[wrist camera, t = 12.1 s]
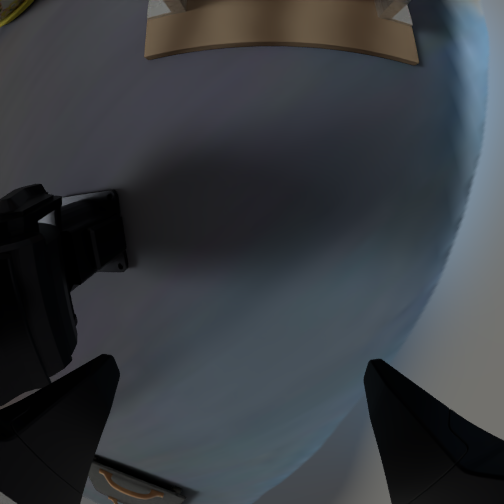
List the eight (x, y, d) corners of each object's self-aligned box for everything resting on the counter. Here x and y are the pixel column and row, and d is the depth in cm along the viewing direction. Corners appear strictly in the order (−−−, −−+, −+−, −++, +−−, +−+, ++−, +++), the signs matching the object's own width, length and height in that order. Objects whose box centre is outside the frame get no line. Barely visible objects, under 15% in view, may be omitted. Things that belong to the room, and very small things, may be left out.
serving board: (82, 442, 34) (71, 464, 29) (192, 485, 36) (188, 510, 31) (98, 485, 47) (93, 499, 41) (169, 511, 49) (166, 526, 43)
